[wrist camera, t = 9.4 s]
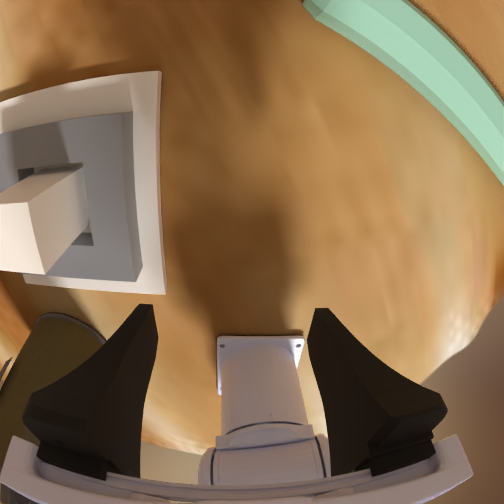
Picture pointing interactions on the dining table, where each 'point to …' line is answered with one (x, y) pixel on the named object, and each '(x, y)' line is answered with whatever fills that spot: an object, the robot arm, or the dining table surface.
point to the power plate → (145, 154)
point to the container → (424, 66)
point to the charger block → (41, 218)
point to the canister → (40, 377)
